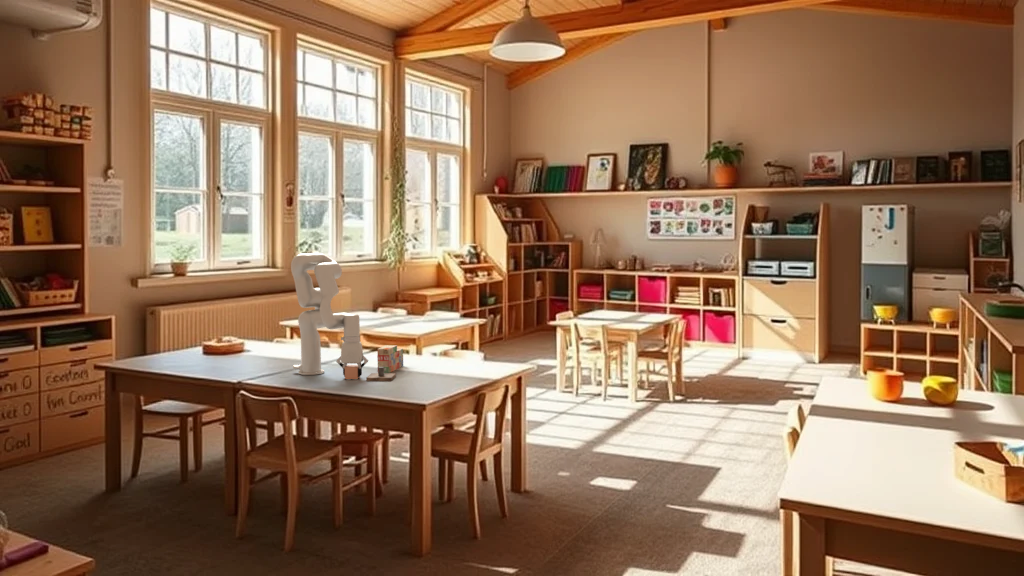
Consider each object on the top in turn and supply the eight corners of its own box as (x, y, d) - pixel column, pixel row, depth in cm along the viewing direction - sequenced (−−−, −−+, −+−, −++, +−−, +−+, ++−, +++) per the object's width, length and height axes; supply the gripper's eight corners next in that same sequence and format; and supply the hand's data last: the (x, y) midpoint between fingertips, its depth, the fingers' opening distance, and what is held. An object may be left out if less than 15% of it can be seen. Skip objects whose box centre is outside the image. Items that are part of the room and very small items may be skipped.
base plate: (366, 380, 391) (366, 369, 391) (371, 376, 403) (371, 365, 403) (391, 380, 391) (391, 369, 390) (395, 376, 403) (395, 365, 402)
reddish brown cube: (344, 379, 395) (344, 367, 394) (347, 377, 400) (347, 365, 400) (357, 379, 394) (357, 367, 394) (360, 377, 400) (359, 365, 400)
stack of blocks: (392, 365, 435) (391, 342, 434) (403, 366, 433) (403, 342, 432) (377, 372, 414) (377, 348, 413) (389, 373, 412) (389, 348, 412)
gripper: (332, 340, 393) (332, 377, 394) (368, 340, 392) (368, 378, 393) (336, 338, 400) (336, 375, 401) (371, 338, 399) (371, 375, 401)
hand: (352, 376), depth 397 cm, fingers closed on reddish brown cube, 6 cm apart
